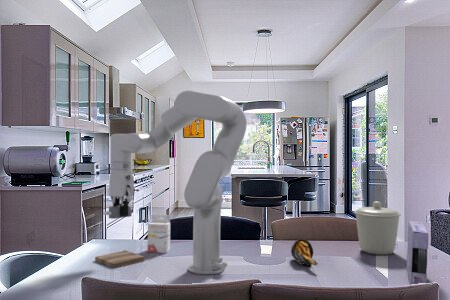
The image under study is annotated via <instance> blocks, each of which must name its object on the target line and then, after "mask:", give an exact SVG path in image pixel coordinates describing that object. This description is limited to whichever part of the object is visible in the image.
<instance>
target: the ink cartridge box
mask: <svg viewBox="0 0 450 300" xmlns="http://www.w3.org/2000/svg"><path fill="white" fill-rule="evenodd" d="M150 218H151V220H150V222H149V223H148V224H147V253H162V254H166V253H169V252H170V251H171V216H170V215H169V214H151V217H150Z"/></svg>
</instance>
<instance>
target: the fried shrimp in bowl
mask: <svg viewBox="0 0 450 300" xmlns="http://www.w3.org/2000/svg"><path fill="white" fill-rule="evenodd" d="M290 252H291V256H292V257H293V258H294V260H295V261H296V262H297V263H299V264H300V265H301V266H303V265H305V266H311V265H313V266H315V267H316V266H318V264H319V262H317V261H316V260H315V259H313V256H314V249H313V246H312V244H311V242H309V240H308V239H306V238H298V239H296V240H295V241H294V242H293V244H292V246H291V249H290Z"/></svg>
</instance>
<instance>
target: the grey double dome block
mask: <svg viewBox="0 0 450 300" xmlns="http://www.w3.org/2000/svg"><path fill="white" fill-rule="evenodd" d="M120 206H121V205H119V206H113V205H112V206H108V211H103V212H102V215H104V216H108V218H109V219H121V218H123V219H124V218H130V217H132V214H133V212H132V210H133V209H132V206H133V205H132V204H129V205H128V216H123V217H121V216H120Z"/></svg>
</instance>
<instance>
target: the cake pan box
mask: <svg viewBox="0 0 450 300" xmlns="http://www.w3.org/2000/svg"><path fill="white" fill-rule="evenodd" d="M407 226H408V227H407V249H406V251H407V253H406V274H407V278H408V282H409V285H410V284H418V283H426V284H427V281H428V280H427V279H428V278H427V276H428V275H427V271H428V270H427V269H428V249H429V232H428V230H427V228H426V226H425V225H424V223H423V222H421V221H416V220H415V221H413V220H409V221H408V225H407Z"/></svg>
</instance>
